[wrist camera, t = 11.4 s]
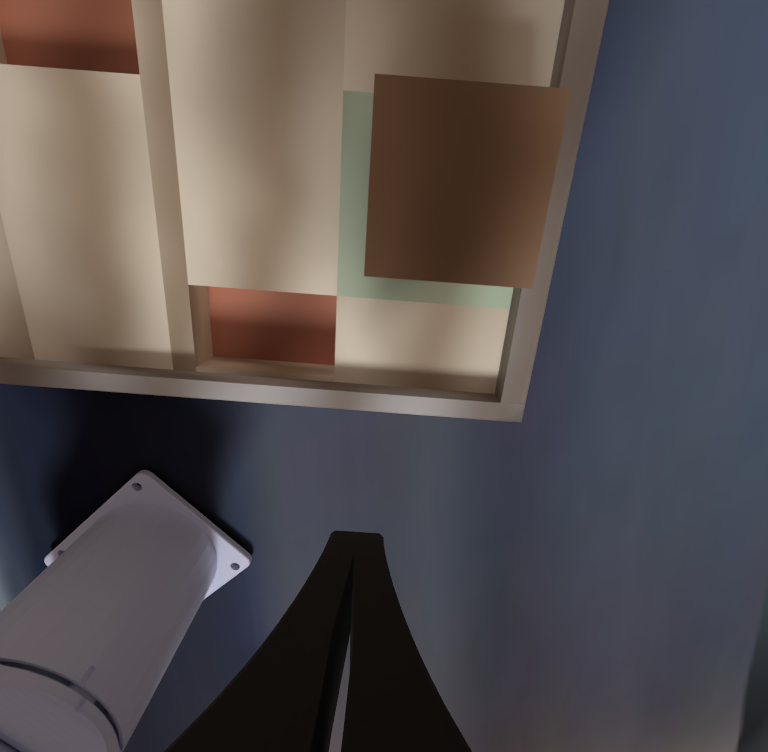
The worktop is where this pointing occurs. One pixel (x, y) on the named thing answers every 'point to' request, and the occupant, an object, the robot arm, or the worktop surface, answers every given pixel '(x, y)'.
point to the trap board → (254, 200)
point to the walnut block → (460, 179)
